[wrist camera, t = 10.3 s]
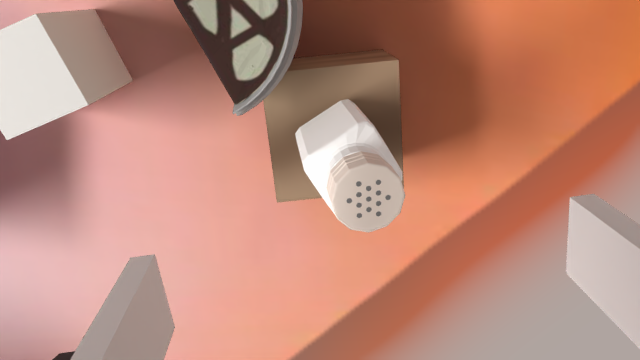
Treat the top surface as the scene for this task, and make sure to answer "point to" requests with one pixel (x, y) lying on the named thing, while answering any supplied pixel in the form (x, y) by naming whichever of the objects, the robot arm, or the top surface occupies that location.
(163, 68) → the top surface
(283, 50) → the food container
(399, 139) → the walnut block
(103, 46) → the white block
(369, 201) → the pepper shaker
